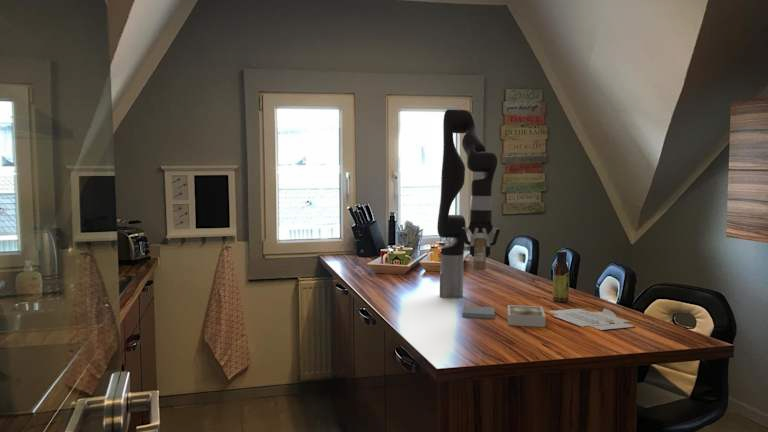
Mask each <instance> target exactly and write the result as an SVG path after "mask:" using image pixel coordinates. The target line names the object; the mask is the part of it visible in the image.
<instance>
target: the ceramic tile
mask: <svg viewBox="0 0 768 432" xmlns="http://www.w3.org/2000/svg"><path fill="white" fill-rule="evenodd" d="M495 309H496V308H495V307H494V306H493V307H492V306H473V305H472V306H471V305H463V309H462V318H477V319H495V311H496V310H495Z"/></svg>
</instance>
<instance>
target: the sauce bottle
mask: <svg viewBox="0 0 768 432" xmlns="http://www.w3.org/2000/svg"><path fill="white" fill-rule="evenodd" d="M555 254H556V255H555V256H556V263H555V264H554V266H553V272H552V300H553V301H554V302H558V303H565V302H566V303H567V302H569V297H570V269H569V266H568V262H567V258H568V257H567V256H568V251H567V250H557V251H556V253H555Z"/></svg>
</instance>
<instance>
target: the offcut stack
mask: <svg viewBox="0 0 768 432" xmlns="http://www.w3.org/2000/svg"><path fill="white" fill-rule="evenodd" d="M513 314H517V315H536V316H538V311H537V309H529V308H513Z"/></svg>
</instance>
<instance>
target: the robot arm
mask: <svg viewBox="0 0 768 432" xmlns="http://www.w3.org/2000/svg"><path fill="white" fill-rule="evenodd" d="M442 122H443V123H442V124H443V125H442V126H443V127H442V128H443V129H442V130H443V132H442V133H443V135H442V136H443V142H442V143H443V150H442V165H441V175H440V176H441V179H440V181H441V182H440V184H441V185H440V201H439V208H438V215H437V216H438V217H437V227H436V228H437V234H438V236H439V237H440V238H443V239H446V238H449V239H450V238H452V239H453V240H452V241H451V242H450V243H448V244H445V245H443V246H441V248H440V273H439V297H443V298H449V299H452V298H453V299H455V298H456V299H457V298H462V297H463V296H464V257H465V255H464V253H465V245H468V246H469V255H470V256H471V258H474V242H475V239H476V233H484V234H486V235H485V241H486V258H489V256H490V255H491V247H492V246H495V245H496V244H497V240H498V238H499V234H500V232H501V230H500V228H498V227H493V223H492V222H493V220H492V219H493V216H492V214H493V200H492V184H493V180H494V176H495V172H496V170H497V166H498V157H497V154H495V152H491V151H486V150H487V149H486V146H485V145H484V143H483V141H482V140H481V138H480V135H479V133H478V129H477V124H476V122H475V118H474V115H473V113H472V112H471V111H470V110H467V109H450V108H449V109H447V110H445V112H444V115H443V121H442ZM454 134H464V135H463V138H462V140H461V146H462V149H463V150H464V152H465V155H466V158H467V159H466V166H467V169H468V170H469V171H471V172H473V173H484V175H483V176H482V177H480V178H475V179H472V180H471V186H470V187H471V189H470V190H471V193H470V194H471V197H470V203H469V204H470V205H469V207H470V208H469V224H468V226H467V224H466V219H465V217H464V215H462V214H449V213H450V209H451V207H452V203H453V202H454V200H455V199H456V197H457V196H458V194H459V193H460V191H461V190H462V189H463V186H464V185H465V179H466V177H465V176H466V175H465V174H466V166H465V163H464V160H463V159H462V157H461V155H460V154H459V152H458V150H457V147H456V146H455V142H454V141H455V140H454ZM469 231H470V233H471V234H472V237H471V240H469V238H468V232H469ZM492 231H493V235H494V236H493V239H492V241H490V238H489V235H490V233H491V232H492ZM474 236H475V237H474Z"/></svg>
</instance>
